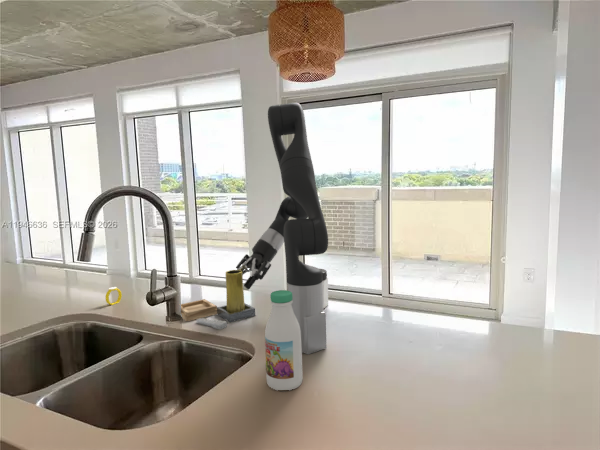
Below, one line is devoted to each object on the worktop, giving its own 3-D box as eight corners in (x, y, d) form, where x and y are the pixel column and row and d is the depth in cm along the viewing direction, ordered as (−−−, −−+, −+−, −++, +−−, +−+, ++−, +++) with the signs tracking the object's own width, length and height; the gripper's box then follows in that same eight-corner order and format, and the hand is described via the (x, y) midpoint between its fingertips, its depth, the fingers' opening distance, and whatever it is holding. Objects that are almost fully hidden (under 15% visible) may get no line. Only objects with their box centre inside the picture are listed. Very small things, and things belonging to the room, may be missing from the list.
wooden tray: (219, 313, 133) (218, 306, 133) (186, 321, 127) (186, 313, 127) (205, 305, 142) (205, 298, 142) (174, 312, 136) (174, 305, 136)
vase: (223, 317, 129) (220, 273, 128) (231, 311, 135) (229, 269, 133) (240, 319, 128) (238, 274, 126) (248, 312, 134) (246, 269, 132)
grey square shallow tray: (255, 315, 131) (255, 308, 130) (229, 322, 125) (229, 314, 125) (241, 308, 138) (241, 301, 137) (217, 314, 132) (216, 307, 132)
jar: (333, 305, 138) (332, 271, 136) (315, 311, 132) (314, 275, 131) (315, 300, 144) (314, 266, 143) (297, 305, 139) (296, 270, 138)
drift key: (226, 326, 122) (226, 322, 122) (220, 329, 119) (219, 325, 119) (202, 320, 128) (202, 316, 127) (195, 323, 125) (195, 318, 125)
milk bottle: (283, 370, 93) (280, 285, 91) (309, 380, 88) (307, 291, 86) (259, 384, 87) (255, 294, 85) (286, 396, 83) (282, 300, 80)
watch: (110, 307, 145) (108, 291, 143) (105, 306, 146) (102, 290, 145) (124, 301, 150) (121, 285, 149) (118, 300, 151) (116, 285, 150)
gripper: (250, 236, 140) (222, 274, 135) (273, 240, 129) (242, 282, 124) (264, 249, 144) (237, 286, 139) (287, 255, 133) (258, 296, 128)
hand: (239, 284), depth 131 cm, fingers open, 8 cm apart
